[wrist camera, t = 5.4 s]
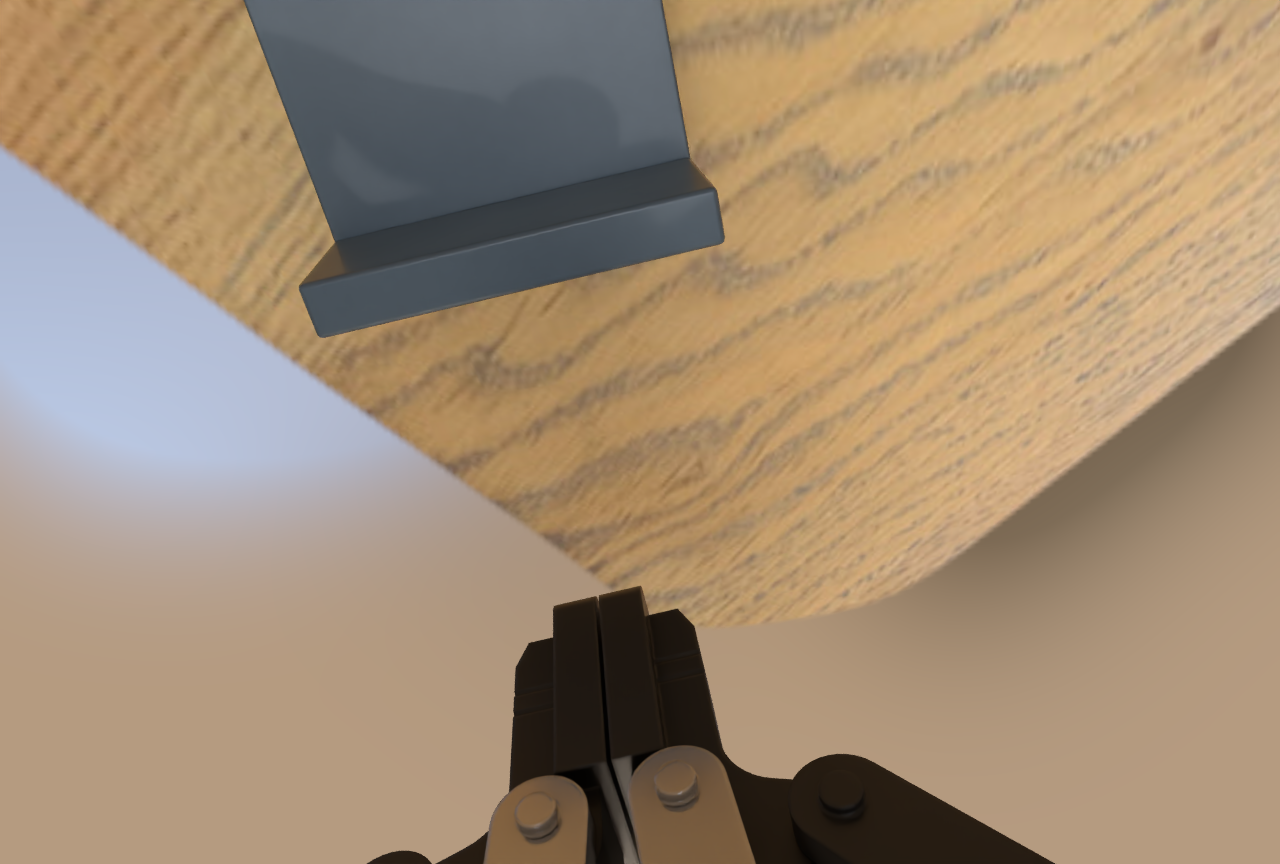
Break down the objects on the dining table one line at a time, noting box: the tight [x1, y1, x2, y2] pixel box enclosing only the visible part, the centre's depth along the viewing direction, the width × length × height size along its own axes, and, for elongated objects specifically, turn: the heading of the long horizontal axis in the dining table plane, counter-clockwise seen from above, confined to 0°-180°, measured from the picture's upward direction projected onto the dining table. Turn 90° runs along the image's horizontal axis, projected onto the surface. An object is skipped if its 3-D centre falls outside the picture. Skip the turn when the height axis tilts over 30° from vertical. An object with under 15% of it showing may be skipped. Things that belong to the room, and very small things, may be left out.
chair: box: [244, 0, 725, 338], centre depth 17 cm, size 7×7×8 cm
